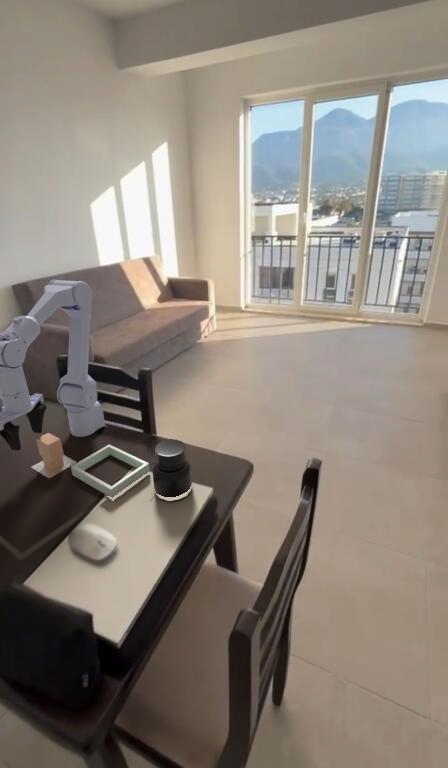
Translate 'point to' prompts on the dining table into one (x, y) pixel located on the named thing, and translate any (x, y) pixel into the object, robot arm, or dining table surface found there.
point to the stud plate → (51, 473)
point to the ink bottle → (171, 469)
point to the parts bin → (102, 486)
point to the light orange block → (50, 450)
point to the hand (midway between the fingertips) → (27, 440)
